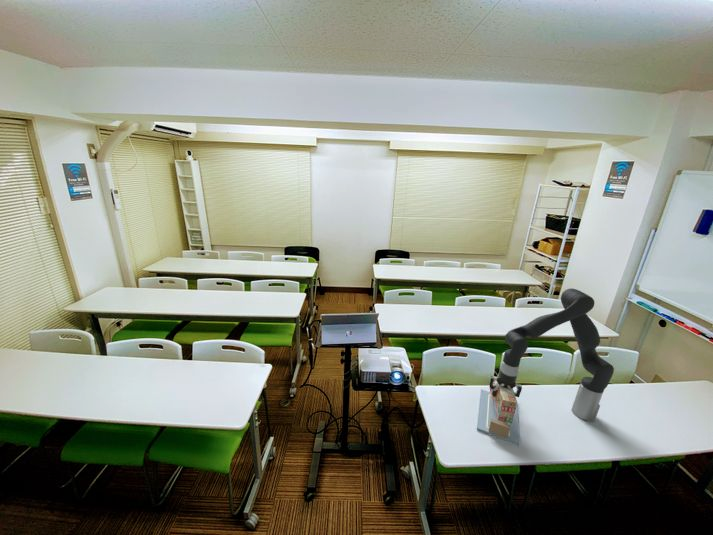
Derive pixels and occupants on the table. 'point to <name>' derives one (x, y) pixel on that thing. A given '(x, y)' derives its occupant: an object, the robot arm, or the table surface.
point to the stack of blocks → (504, 403)
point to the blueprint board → (493, 416)
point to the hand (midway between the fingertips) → (502, 398)
